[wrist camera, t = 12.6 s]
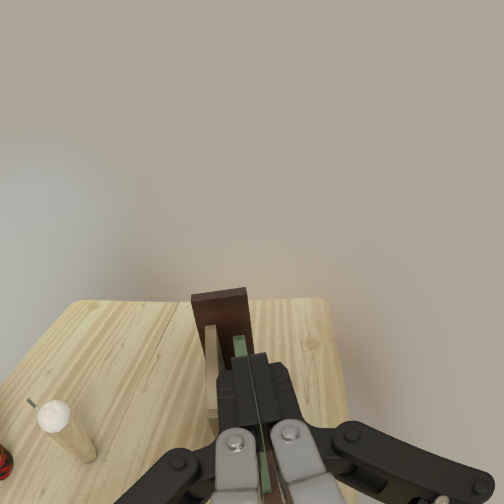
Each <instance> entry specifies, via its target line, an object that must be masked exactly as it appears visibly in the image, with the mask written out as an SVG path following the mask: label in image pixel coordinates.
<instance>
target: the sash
mask: <svg viewBox="0 0 504 504" xmlns="http://www.w3.org/2000/svg"><path fill="white" fill-rule="evenodd" d="M233 343H234V351H235V357H239V356H245V355H248V353H247V348H246V342H245V337H244V335H239V336H233ZM248 361H249V359H248ZM249 367H250V364H249ZM250 372H251V370H250ZM251 378H252V375H251ZM252 383H253V381H252ZM253 389H254V386H253ZM254 394H255V391H254ZM255 400H256V396H255ZM256 405H257V402H256ZM257 411H258V407H257ZM258 416H259V412H258ZM259 422H260V417H259ZM260 427H261V422H260ZM261 434H262V440H263V433H262V428H261ZM263 446H264V440H263ZM260 457H261V463H262V468H261V474H262V486H263V494H264V493H270V492H272V491H271V485H270V479H269V472H268V466H267V459H266V453H265V446H264V452H261V453H260Z"/></svg>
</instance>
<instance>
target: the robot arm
mask: <svg viewBox="0 0 504 504" xmlns="http://www.w3.org/2000/svg"><path fill="white" fill-rule="evenodd" d="M249 359H250V365H251V372H252V378H251V372H250V367H249V361H248V355H245V356H239V357H232V358H231V365H232V370H225V371H220V373H219V375H218V377H217V379H216V391H217V408H218V422H219V433H218V436H217V438H216V439H215V440H214V442H212V443H211V444H210V445H208V446H206V447H204V448H201V449H199V450H196V451H193V452H192V451H190V450H188V449H185V448H175V449H172V450H169V451H168V452H166V453H165V454H164V455H163V456H162V457H161V458H160V459H159V460H158V461H157V462H156V463H155V464H154V465H153V466H152V467H151V468H150V469H149V470H148V471H147V472H146V473H145V474H144V475H143V476H142V477H141V478H140V479H139V480H138V481H137V482H136V483H135V484H134V485H133V486H132V487H131V488H130V489H129V490H128V491H126V492H125V493H124V494H123V495H122V496H121V497H120V498H119V499H118V500H117V501H116V502H115V503H114V504H205V503H206V502H207V501H208V500H209V499H210V497H211V504H264V497H263V486H262V474H261V468H262V463H261V457H260V453H261V452H264V446H263V440H262V434H261V428H262V433H263V438H264V443H265V448H266V452H267V451H271V452H272V457H273V462H274V468H275V471H276V474H277V478H278V481H279V484H280V487H281V490H282V493H283V496H284V499H285V502H286V504H346V502H345V500H344V497H343V495H342V493H341V491H340V489H339V486H338V484H337V482H336V480H335V479H337V480H338V481H340V482H342V483H344V484H346V485H348V486H350V487H352V488H354V489H355V490H357V491H359V492H362V493H363V494H366V495H368V496H370V497H372V498H374V499H376V500H378V501H380V502H383V503H385V504H483V503H484V502H486V501H487V500H488V499H489V498H490V497H491V496H492V494H493V492H494V489H495V482H494V479H493V478H492V476H491V475H490V474H489V473H487V472H484V471H481V470H478V469H475V468H472V467H468V466H466V465H463V464H460V463H456V462H454V461H451V460H449V459H446V458H443V457H440V456H438V455H435V454H432V453H430V452H427V451H425V450H422V449H420V448H417V447H415V446H413V445H410V444H408V443H405V442H403V441H401V440H398V439H396V438H394V437H392V436H389V435H387V434H385V433H383V432H380V431H378V430H376V429H374V428H372V427H370V426H368V425H365V424H363V423H361V422H358V421H347V422H344V423H342V424H340V425H339V426H338V427H337V428H317V427H314V426H311V425H310V424H308V423H307V422H306V421H305V420H304V419H303V417H302V415H301V411H300V408H299V405H298V402H297V398H296V395H295V392H294V389H293V386H292V382H291V380H290V376H289V373H288V370H287V368H286V367H285V366H284V365H283V364H282V363H281V362H276V363H271V364H269V363H268V359H267V355H266V352H264V353H258V354H251V355H249ZM252 379H253V383H252ZM253 385H254V389H253ZM254 390H255V394H254ZM255 396H256V400H255ZM256 401H257V405H256ZM257 407H258V411H257ZM258 412H259V416H258ZM259 417H260V422H261V427H260V422H259Z"/></svg>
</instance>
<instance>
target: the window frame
mask: <svg viewBox="0 0 504 504" xmlns="http://www.w3.org/2000/svg"><path fill="white" fill-rule="evenodd" d="M191 305H192V309H193V313H194V317H195V321H196V325H197V329H198V333H199V337H200V341H201V345H202V348H203V352H204V356H205V362H206V400H207V419H208V421H209V424H210V426H211V429H212V431H213V434H214V436H215V439H216V438H217V436H218V433H219V422H218V408H217V391H216V379H217V377H218V375H219V373H220V371H225V370H232V365H231V358H232V357H235V351H234V343H233V336H239V335H244V337H245V342H246V348H247V353H248V359H249V355H251V354H255V353H254V345H253V337H252V329H251V321H250V313H249V305H248V297H247V291H246V287H243V288H235V289H228V290H221V291H214V292H207V293H200V294H192V295H191ZM249 364H250V359H249ZM250 370H251V365H250ZM251 375H252V372H251ZM252 381H253V379H252ZM253 386H254V385H253ZM254 391H255V390H254ZM256 402H257V401H256ZM263 440H264V438H263ZM264 446H265V443H264ZM265 453H266V459H267V466H268V472H269V479H270V485H271V491H272V492H270V493H264V494H263V497H264V504H283V503H282V498H281V494H280V489H279V485H278V480H277V476H276V471H275V468H274V462H273V457H272V453H271V451H267V452H266V448H265Z"/></svg>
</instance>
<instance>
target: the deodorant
mask: <svg viewBox="0 0 504 504" xmlns="http://www.w3.org/2000/svg"><path fill="white" fill-rule="evenodd" d="M12 468H13V458H12V456H11V454H10V453H9V452H8V451H7V450H6V449H5V448H4V447H3V446H2V445H1V444H0V481H1V480H4V479H5V478H7V477H8V476H9V475H10V473H11V471H12Z"/></svg>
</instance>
